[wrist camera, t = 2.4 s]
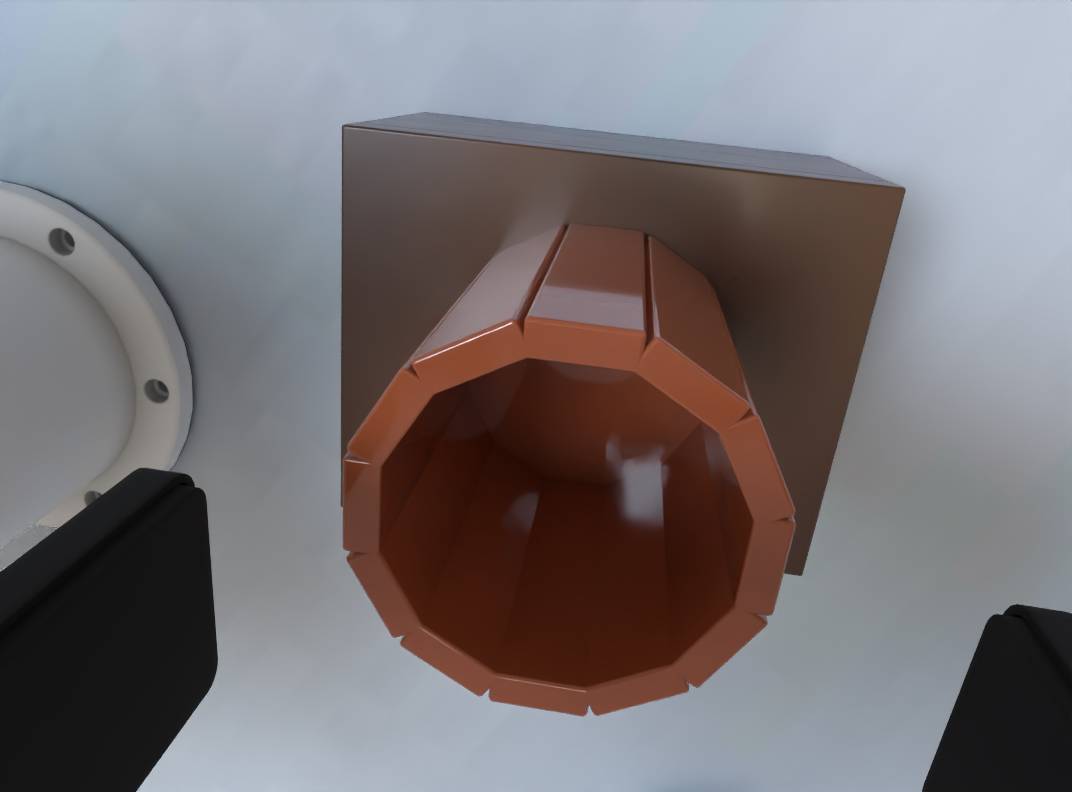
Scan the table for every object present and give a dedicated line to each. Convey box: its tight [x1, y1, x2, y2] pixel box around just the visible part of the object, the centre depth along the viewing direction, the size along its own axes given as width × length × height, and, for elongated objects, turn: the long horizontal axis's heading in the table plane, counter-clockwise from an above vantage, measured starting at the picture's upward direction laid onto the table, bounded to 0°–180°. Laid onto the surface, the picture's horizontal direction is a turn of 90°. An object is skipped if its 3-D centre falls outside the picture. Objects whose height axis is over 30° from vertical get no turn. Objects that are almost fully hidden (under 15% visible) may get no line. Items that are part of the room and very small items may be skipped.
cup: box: [343, 223, 796, 716], centre depth 15 cm, size 7×7×8 cm
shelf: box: [341, 112, 905, 576], centre depth 22 cm, size 12×10×7 cm
